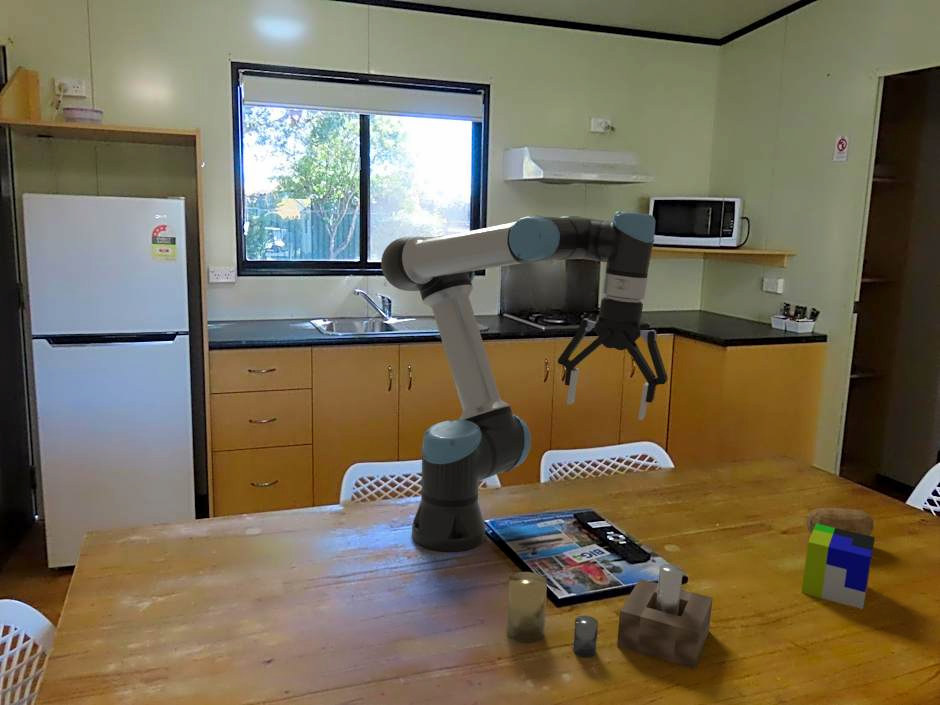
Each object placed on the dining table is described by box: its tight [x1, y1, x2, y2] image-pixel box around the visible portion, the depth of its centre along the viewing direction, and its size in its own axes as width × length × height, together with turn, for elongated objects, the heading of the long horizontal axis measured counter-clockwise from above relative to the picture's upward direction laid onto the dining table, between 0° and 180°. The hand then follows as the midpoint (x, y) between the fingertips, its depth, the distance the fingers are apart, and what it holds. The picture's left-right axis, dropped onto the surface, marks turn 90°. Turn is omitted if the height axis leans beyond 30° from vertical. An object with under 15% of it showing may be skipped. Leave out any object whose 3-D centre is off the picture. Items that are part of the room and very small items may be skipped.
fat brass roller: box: [506, 571, 548, 644], centre depth 119 cm, size 6×6×9 cm
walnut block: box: [616, 578, 714, 670], centre depth 119 cm, size 12×12×6 cm
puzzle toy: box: [801, 524, 875, 610], centre depth 137 cm, size 10×10×10 cm
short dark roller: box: [572, 615, 599, 659], centre depth 115 cm, size 4×4×5 cm
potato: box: [805, 507, 875, 536], centre depth 156 cm, size 10×14×8 cm
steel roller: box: [656, 563, 684, 616], centre depth 118 cm, size 4×4×12 cm
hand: (605, 410), depth 139 cm, fingers open, 13 cm apart
